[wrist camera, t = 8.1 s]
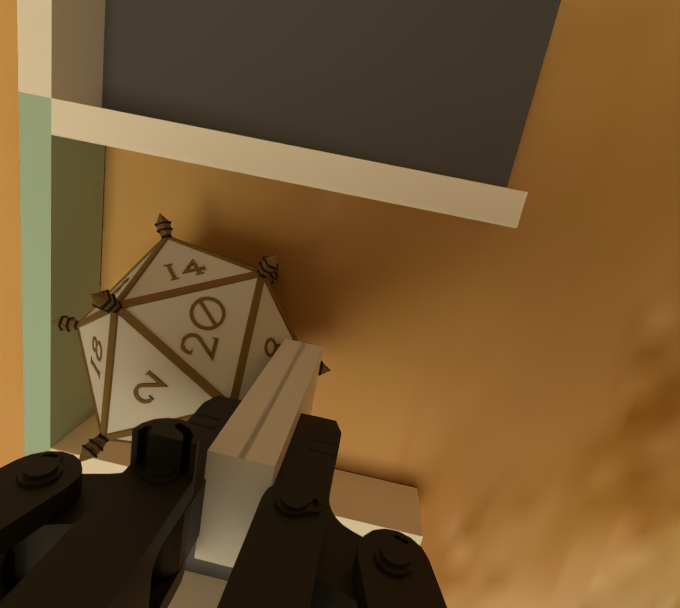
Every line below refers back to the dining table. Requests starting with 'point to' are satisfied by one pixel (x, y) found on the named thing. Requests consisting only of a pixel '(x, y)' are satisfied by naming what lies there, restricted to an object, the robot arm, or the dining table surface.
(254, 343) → the game die
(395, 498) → the trap box
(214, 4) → the pads
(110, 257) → the dining table surface
